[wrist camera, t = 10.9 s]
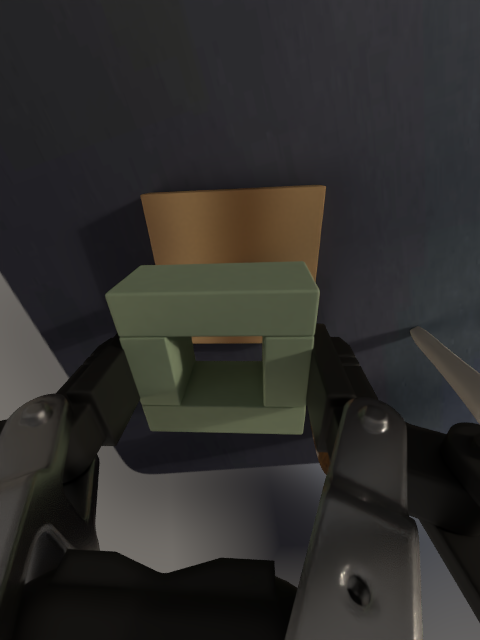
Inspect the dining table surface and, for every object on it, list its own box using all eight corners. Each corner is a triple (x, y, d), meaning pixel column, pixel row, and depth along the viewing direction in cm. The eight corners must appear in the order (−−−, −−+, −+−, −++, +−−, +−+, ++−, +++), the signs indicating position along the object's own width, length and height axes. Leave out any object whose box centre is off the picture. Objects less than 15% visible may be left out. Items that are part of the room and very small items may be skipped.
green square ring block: (169, 384, 12) (150, 431, 10) (139, 264, 9) (102, 293, 7) (294, 385, 12) (303, 435, 10) (305, 260, 9) (320, 290, 7)
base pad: (177, 332, 20) (147, 394, 15) (149, 192, 15) (87, 205, 10) (305, 331, 20) (325, 396, 14) (319, 184, 15) (360, 193, 9)
